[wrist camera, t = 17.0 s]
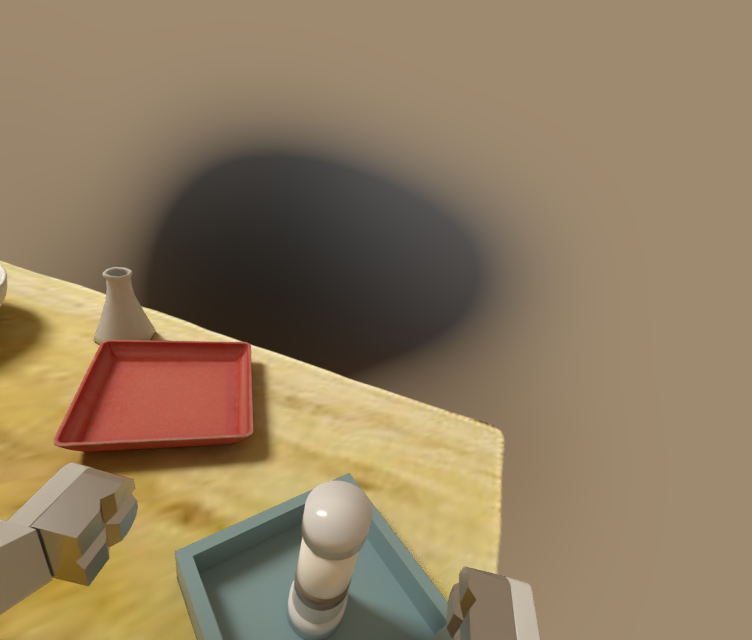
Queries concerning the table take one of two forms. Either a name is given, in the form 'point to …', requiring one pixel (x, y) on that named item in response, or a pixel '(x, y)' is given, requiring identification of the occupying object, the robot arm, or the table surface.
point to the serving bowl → (3, 284)
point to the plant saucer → (161, 397)
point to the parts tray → (277, 572)
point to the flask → (122, 310)
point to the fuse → (327, 557)
